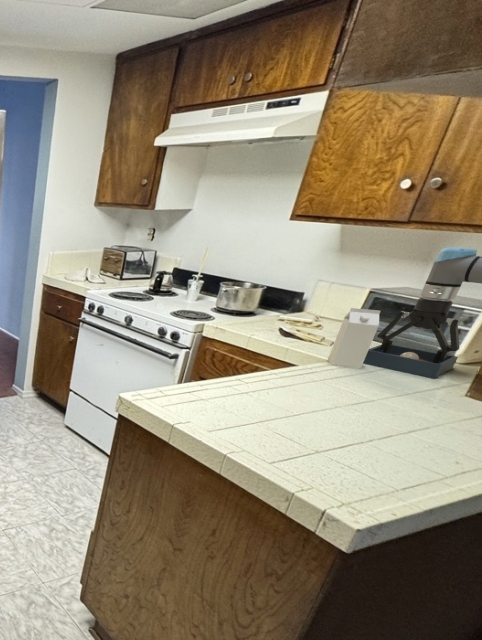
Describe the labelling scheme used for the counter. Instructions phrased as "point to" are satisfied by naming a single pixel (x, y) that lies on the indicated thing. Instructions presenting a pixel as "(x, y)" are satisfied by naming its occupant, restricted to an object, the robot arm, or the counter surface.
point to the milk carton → (354, 338)
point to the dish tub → (409, 361)
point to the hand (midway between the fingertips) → (406, 364)
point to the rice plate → (411, 355)
